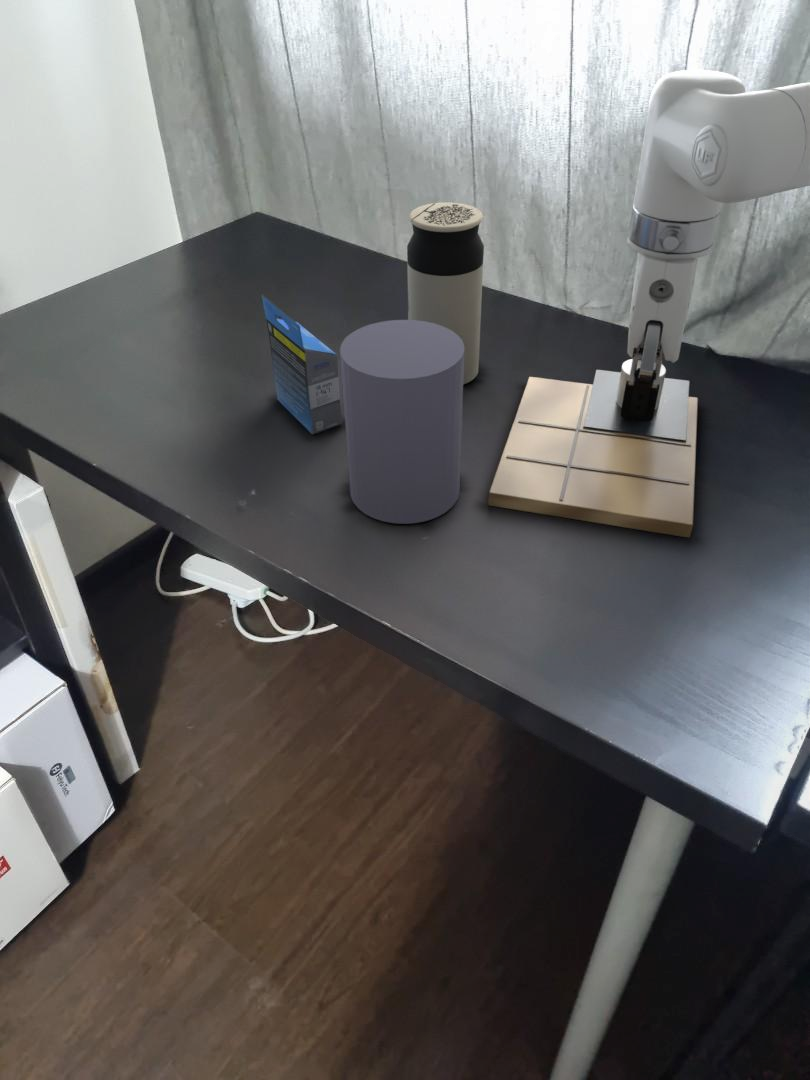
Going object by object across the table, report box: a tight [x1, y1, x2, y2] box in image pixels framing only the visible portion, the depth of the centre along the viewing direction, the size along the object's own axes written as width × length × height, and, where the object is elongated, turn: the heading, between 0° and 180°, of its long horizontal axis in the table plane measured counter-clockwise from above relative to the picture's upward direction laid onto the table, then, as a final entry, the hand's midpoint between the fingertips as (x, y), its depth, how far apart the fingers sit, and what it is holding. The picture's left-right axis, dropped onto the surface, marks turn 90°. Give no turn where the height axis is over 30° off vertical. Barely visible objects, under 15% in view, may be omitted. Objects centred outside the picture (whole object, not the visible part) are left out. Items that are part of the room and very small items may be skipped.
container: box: [339, 319, 464, 525], centre depth 73 cm, size 10×10×15 cm
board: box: [487, 369, 699, 538], centre depth 83 cm, size 18×25×2 cm
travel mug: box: [406, 201, 485, 385], centre depth 89 cm, size 8×8×18 cm
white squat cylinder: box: [616, 358, 667, 410], centre depth 85 cm, size 4×4×4 cm
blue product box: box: [261, 294, 343, 435], centre depth 85 cm, size 9×4×12 cm, turn 32°
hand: (638, 400), depth 86 cm, fingers open, 5 cm apart
